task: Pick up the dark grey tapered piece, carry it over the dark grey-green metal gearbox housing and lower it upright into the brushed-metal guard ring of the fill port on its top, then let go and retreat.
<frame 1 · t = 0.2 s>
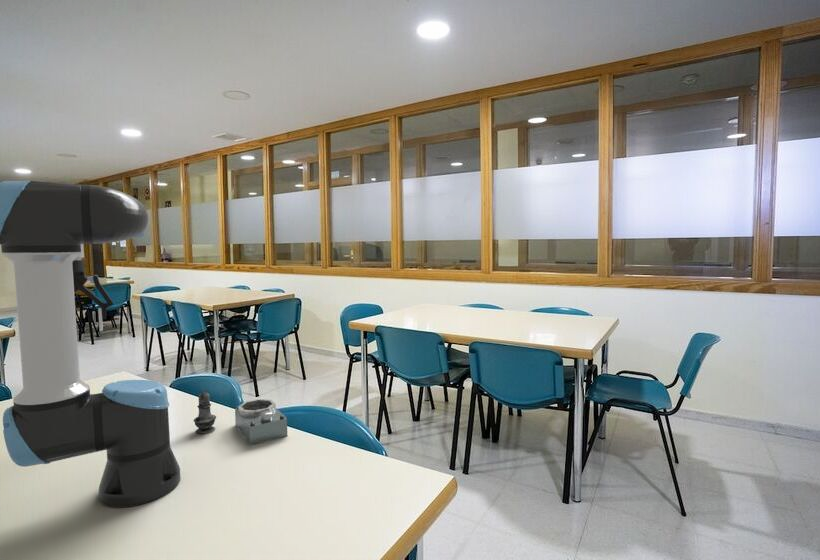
hand: (72, 333, 125), 28 cm above the table, fingers open, 13 cm apart
gearbox: (260, 430, 124), on the table
dark grey tapered piece: (205, 431, 124), on the table
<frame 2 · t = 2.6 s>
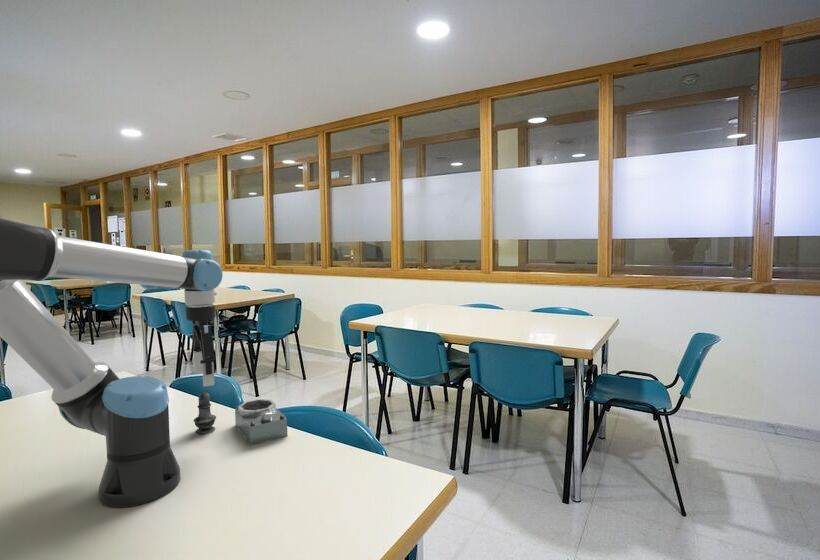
hand: (204, 379, 123), 15 cm above the table, fingers open, 13 cm apart
nothing on the table moved.
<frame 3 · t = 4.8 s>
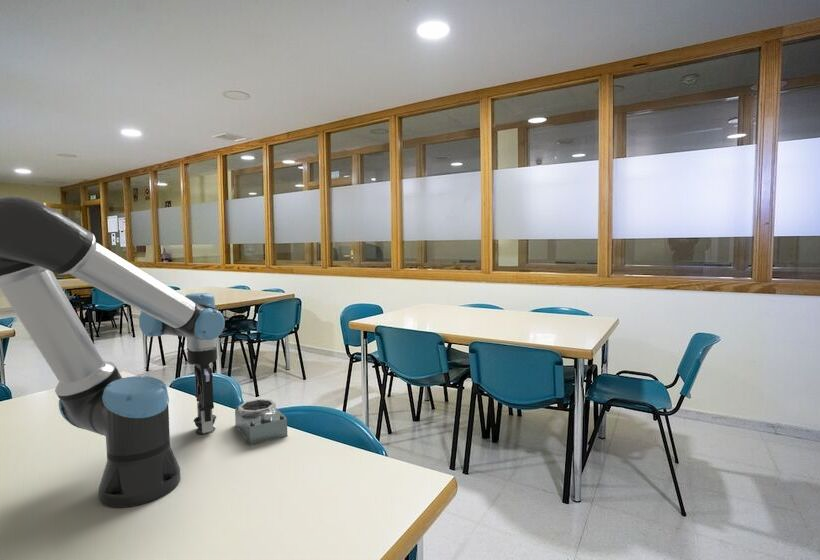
hand: (205, 427, 124), 1 cm above the table, fingers closed on dark grey tapered piece, 6 cm apart
dark grey tapered piece: (205, 431, 124), on the table, touching gripper
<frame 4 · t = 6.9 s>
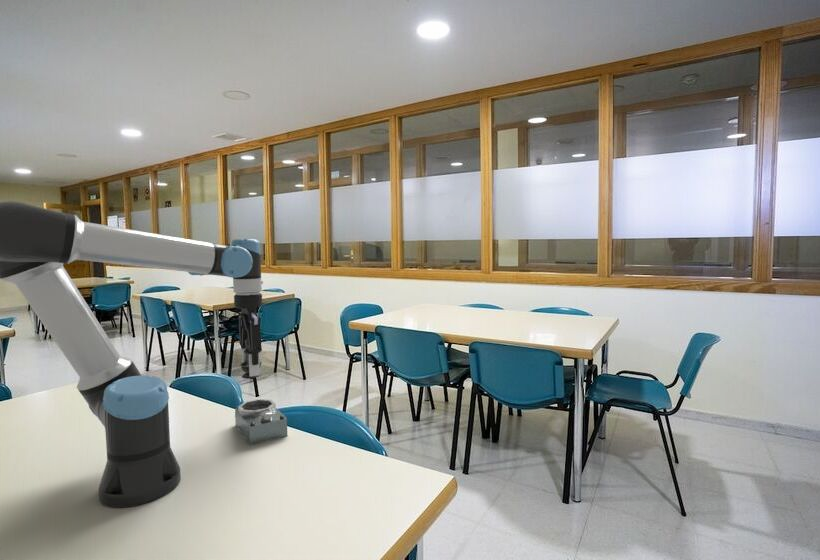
hand: (251, 372, 126), 16 cm above the table, fingers closed on dark grey tapered piece, 6 cm apart
dark grey tapered piece: (251, 376, 126), point 15 cm above the table, touching gripper
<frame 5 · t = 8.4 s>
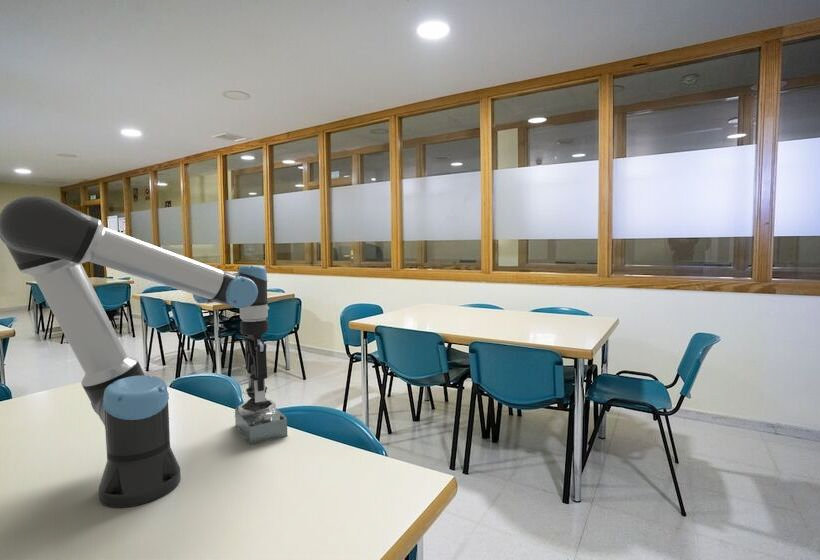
hand: (256, 397, 126), 9 cm above the table, fingers closed on dark grey tapered piece, 6 cm apart
dark grey tapered piece: (257, 401, 126), point 8 cm above the table, touching gripper
when the fingers open (8 cm above the table, at t = 9.1 s): dark grey tapered piece drops 2 cm, resting on gearbox.
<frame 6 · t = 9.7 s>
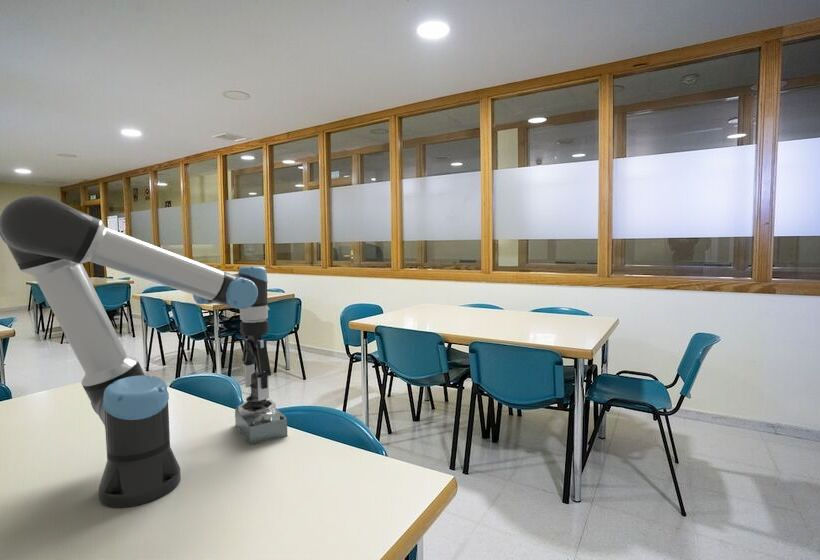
hand: (256, 392, 126), 10 cm above the table, fingers open, 13 cm apart
dark grey tapered piece: (257, 410, 126), point 5 cm above the table, touching gearbox
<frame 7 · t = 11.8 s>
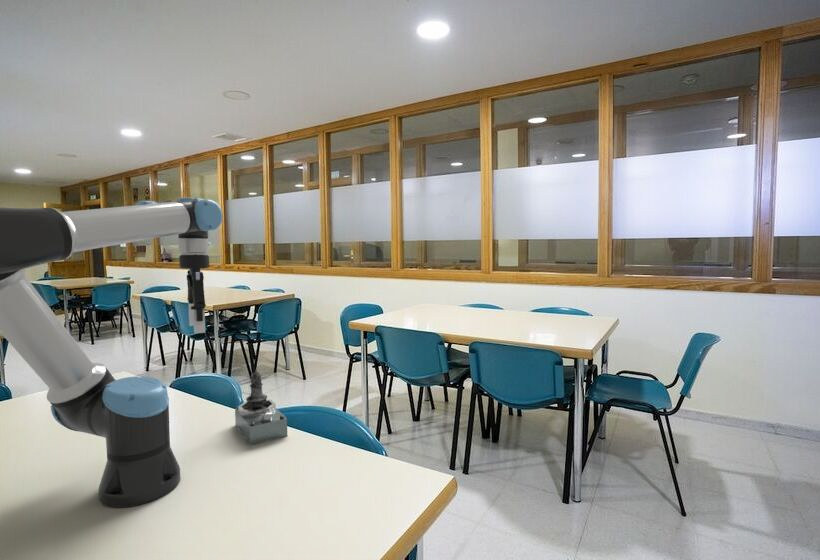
hand: (196, 329, 123), 29 cm above the table, fingers open, 13 cm apart
nothing on the table moved.
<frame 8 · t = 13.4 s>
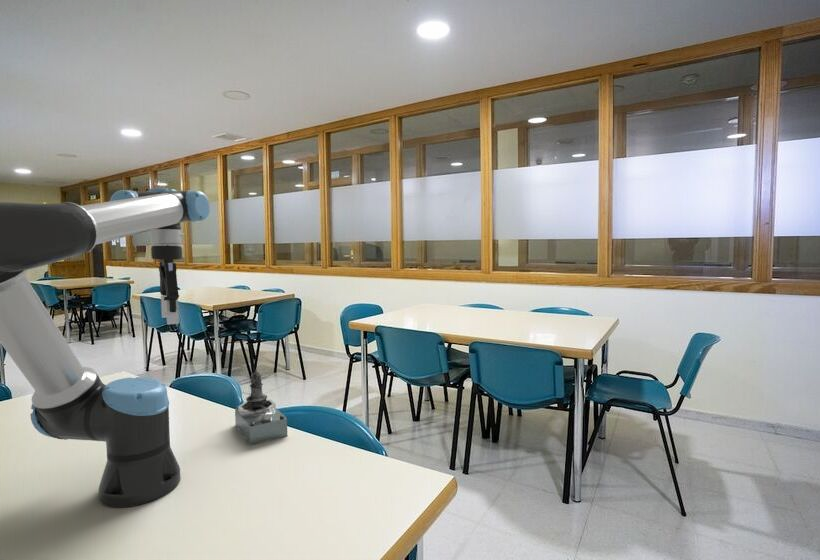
hand: (170, 320, 123), 32 cm above the table, fingers open, 13 cm apart
nothing on the table moved.
at the end: dark grey tapered piece inside the target area (0.0 cm from its centre), point 4.9 cm above the table; dark grey tapered piece tilted 0°; the gripper is holding nothing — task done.
